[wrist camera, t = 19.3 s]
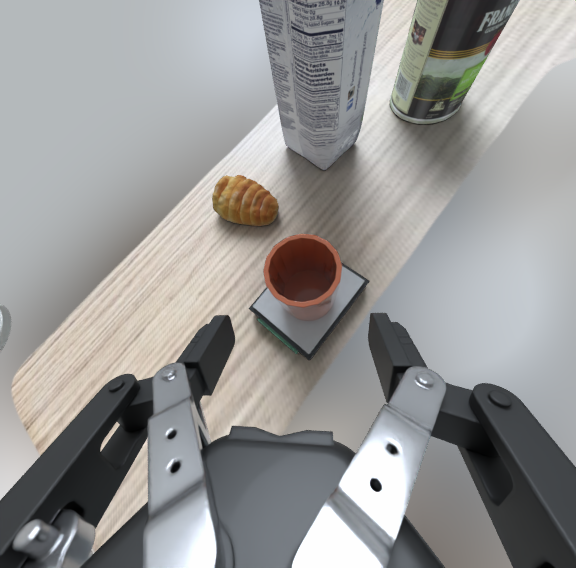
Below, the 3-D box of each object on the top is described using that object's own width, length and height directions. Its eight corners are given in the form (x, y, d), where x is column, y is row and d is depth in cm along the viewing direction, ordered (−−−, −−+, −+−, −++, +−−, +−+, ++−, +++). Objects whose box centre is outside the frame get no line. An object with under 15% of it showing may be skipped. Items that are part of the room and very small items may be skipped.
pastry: (288, 199, 32) (283, 180, 28) (267, 238, 30) (260, 223, 27) (235, 183, 34) (225, 163, 31) (214, 218, 33) (200, 202, 29)
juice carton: (325, 180, 32) (340, -509, 6) (277, 147, 35) (160, -394, 10) (366, 142, 33) (520, -588, 7) (315, 113, 36) (300, -459, 11)
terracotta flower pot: (301, 332, 23) (291, 323, 16) (271, 289, 25) (250, 262, 18) (346, 299, 23) (358, 275, 16) (313, 259, 25) (310, 220, 18)
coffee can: (477, 93, 32) (585, -86, 19) (431, 135, 31) (512, -23, 18) (418, 68, 36) (475, -100, 22) (375, 106, 35) (408, -47, 21)
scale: (308, 362, 25) (306, 364, 22) (252, 314, 27) (244, 310, 25) (365, 286, 26) (370, 279, 24) (307, 247, 29) (306, 237, 26)
